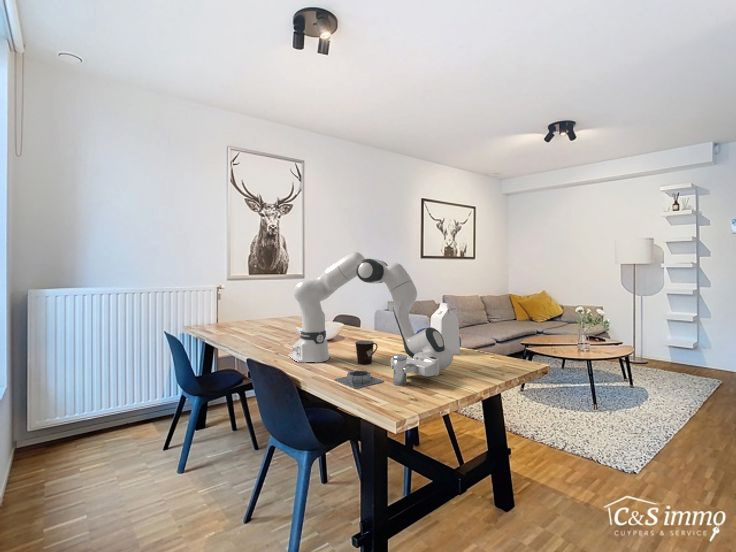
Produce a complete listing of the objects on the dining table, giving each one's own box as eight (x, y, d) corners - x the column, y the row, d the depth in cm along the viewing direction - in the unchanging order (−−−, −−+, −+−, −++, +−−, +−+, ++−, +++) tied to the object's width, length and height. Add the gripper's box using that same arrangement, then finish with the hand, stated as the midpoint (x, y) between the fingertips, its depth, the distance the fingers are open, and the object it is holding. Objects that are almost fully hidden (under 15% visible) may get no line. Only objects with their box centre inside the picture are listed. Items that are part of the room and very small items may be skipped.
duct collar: (334, 380, 155) (334, 372, 155) (361, 374, 164) (361, 367, 164) (355, 388, 144) (355, 380, 144) (383, 381, 153) (383, 374, 153)
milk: (460, 353, 203) (460, 303, 202) (441, 355, 198) (441, 304, 198) (447, 349, 214) (447, 301, 213) (429, 350, 210) (429, 302, 209)
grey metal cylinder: (390, 383, 151) (390, 355, 151) (400, 381, 154) (400, 353, 154) (399, 386, 147) (399, 357, 147) (409, 384, 150) (409, 355, 150)
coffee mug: (357, 366, 177) (357, 344, 177) (353, 361, 186) (353, 340, 185) (382, 364, 180) (382, 343, 180) (376, 360, 189) (376, 339, 189)
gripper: (404, 351, 167) (380, 355, 158) (442, 360, 151) (417, 365, 142) (404, 365, 167) (380, 371, 158) (442, 376, 151) (417, 382, 142)
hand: (398, 368), depth 150 cm, fingers closed on grey metal cylinder, 5 cm apart
